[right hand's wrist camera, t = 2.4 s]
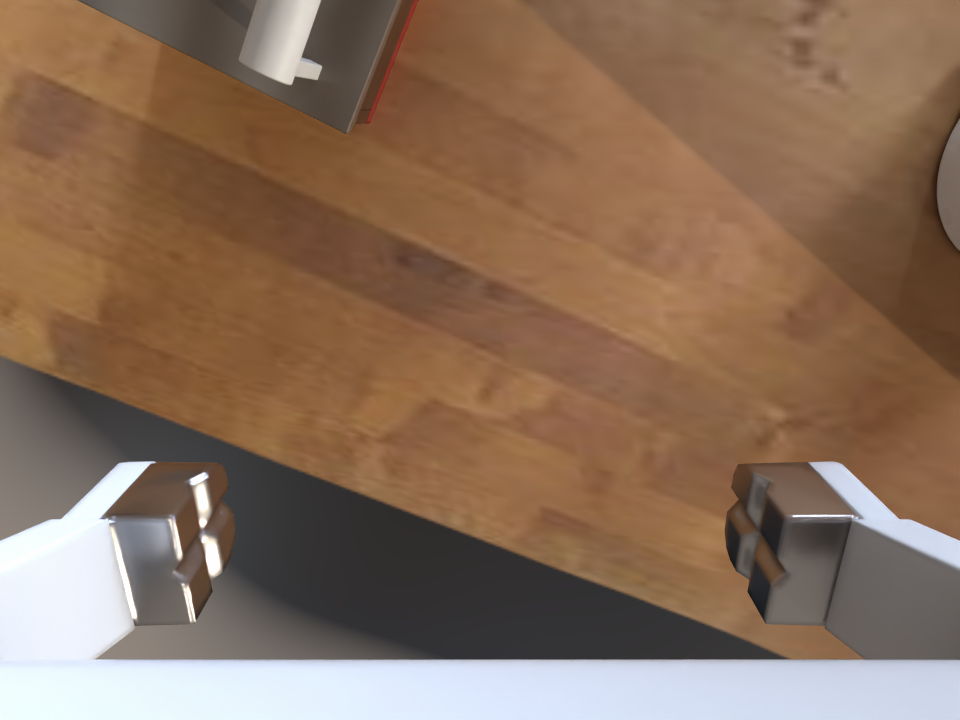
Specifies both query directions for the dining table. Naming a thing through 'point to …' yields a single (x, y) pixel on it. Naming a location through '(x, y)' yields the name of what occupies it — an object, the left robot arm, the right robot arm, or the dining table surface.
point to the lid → (276, 45)
